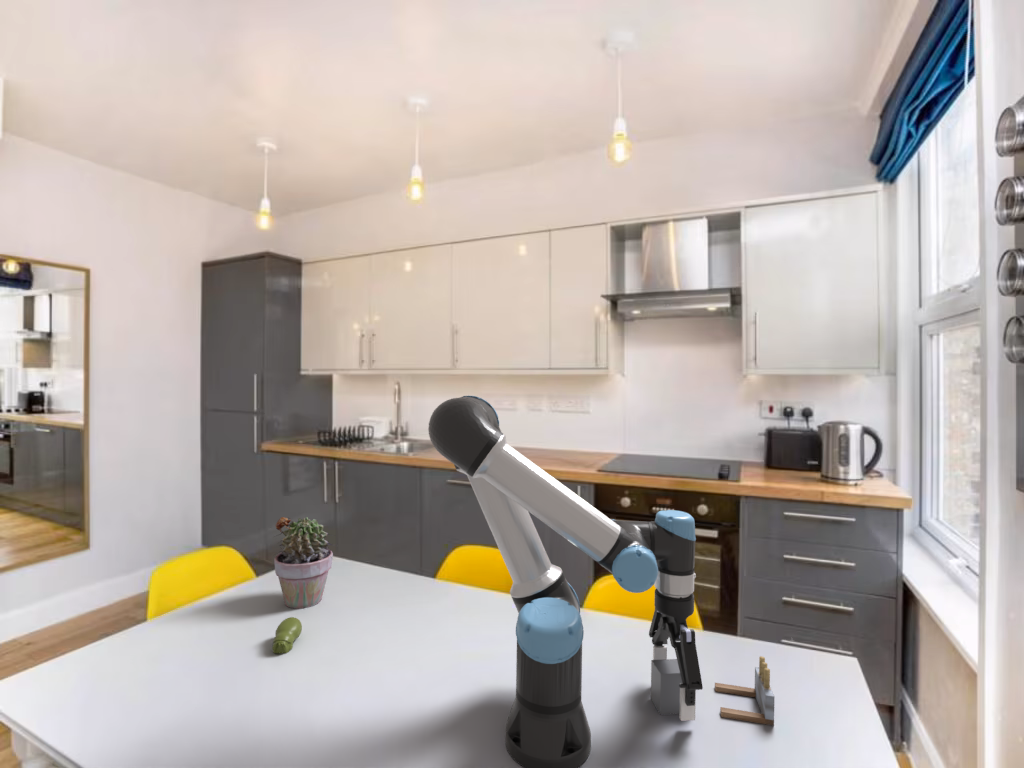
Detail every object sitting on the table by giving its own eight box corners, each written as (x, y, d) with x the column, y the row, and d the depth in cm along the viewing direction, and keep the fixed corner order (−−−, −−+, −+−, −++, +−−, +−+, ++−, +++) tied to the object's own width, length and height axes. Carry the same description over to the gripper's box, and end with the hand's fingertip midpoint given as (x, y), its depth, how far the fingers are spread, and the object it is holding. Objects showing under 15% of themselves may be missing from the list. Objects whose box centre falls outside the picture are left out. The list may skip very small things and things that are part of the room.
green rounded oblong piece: (304, 612, 129) (290, 639, 119) (305, 632, 130) (291, 660, 120) (282, 613, 128) (265, 639, 119) (282, 632, 129) (266, 660, 120)
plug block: (694, 713, 101) (695, 672, 101) (660, 715, 100) (660, 673, 100) (683, 697, 106) (684, 658, 106) (650, 699, 105) (651, 660, 105)
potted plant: (354, 595, 153) (355, 511, 153) (296, 621, 136) (297, 526, 136) (315, 582, 162) (316, 502, 162) (256, 604, 146) (257, 516, 146)
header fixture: (773, 725, 97) (774, 678, 97) (721, 716, 100) (722, 670, 100) (762, 694, 107) (763, 651, 107) (714, 687, 109) (715, 644, 109)
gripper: (723, 619, 91) (721, 739, 91) (667, 567, 115) (666, 662, 116) (682, 620, 90) (680, 741, 90) (635, 568, 115) (633, 663, 115)
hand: (672, 697), depth 103 cm, fingers open, 13 cm apart
